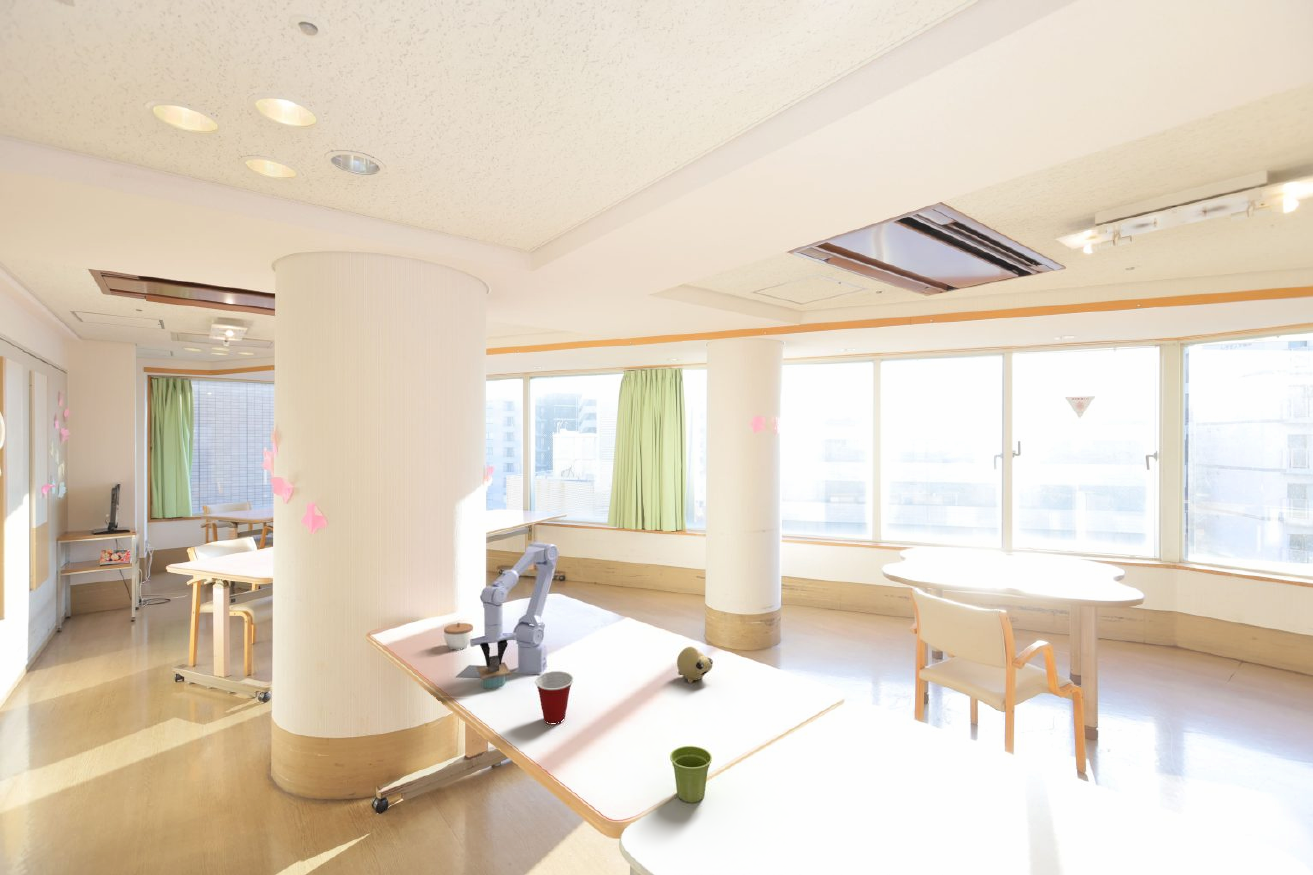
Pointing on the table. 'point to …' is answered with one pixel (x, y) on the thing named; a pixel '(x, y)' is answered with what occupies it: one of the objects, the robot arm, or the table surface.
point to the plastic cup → (554, 694)
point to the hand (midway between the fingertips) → (493, 664)
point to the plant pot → (690, 772)
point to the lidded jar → (458, 635)
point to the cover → (493, 669)
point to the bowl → (493, 682)
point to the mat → (469, 672)
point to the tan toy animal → (693, 664)
